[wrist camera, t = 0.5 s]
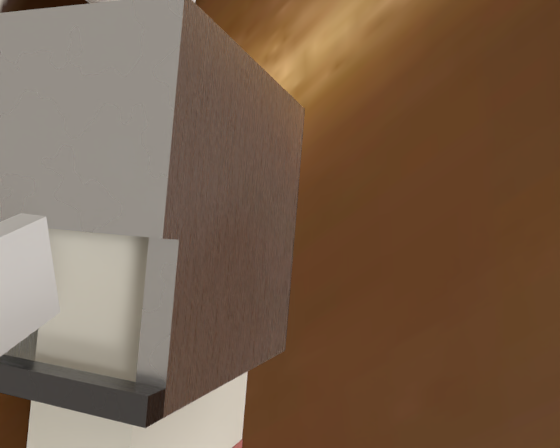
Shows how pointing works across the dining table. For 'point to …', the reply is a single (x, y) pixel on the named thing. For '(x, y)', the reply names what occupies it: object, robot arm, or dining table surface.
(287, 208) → the dispenser
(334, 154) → the dining table surface
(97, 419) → the pink-banded white block
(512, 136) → the dining table surface
